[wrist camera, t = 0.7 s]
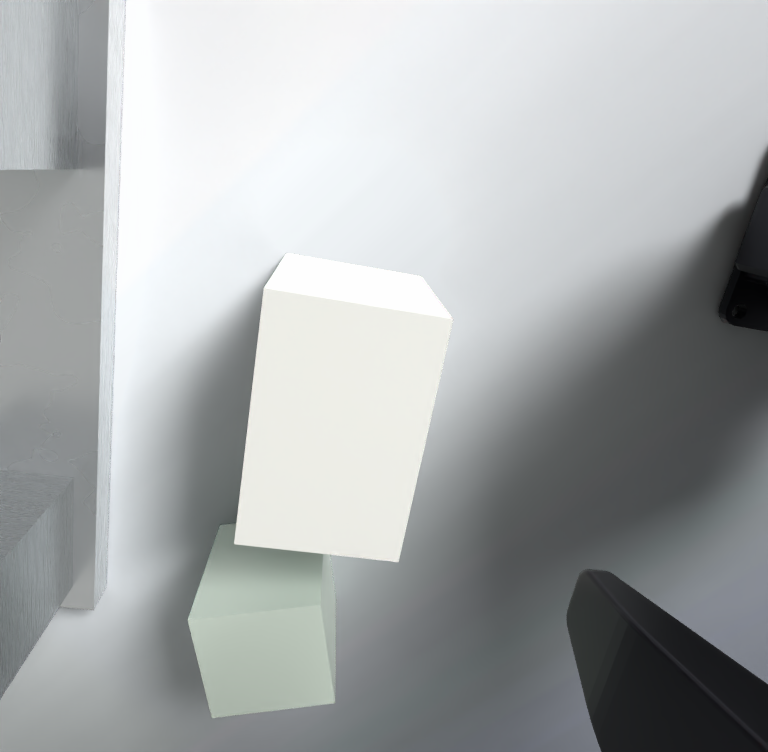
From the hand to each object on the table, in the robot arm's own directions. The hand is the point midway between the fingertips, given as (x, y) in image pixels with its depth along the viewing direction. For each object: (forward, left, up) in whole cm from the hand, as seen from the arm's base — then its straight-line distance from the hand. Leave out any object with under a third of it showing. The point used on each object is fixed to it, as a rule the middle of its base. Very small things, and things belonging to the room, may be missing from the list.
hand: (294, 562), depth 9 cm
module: (-1, +1, -12) cm, 12 cm away
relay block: (0, +9, -12) cm, 15 cm away
